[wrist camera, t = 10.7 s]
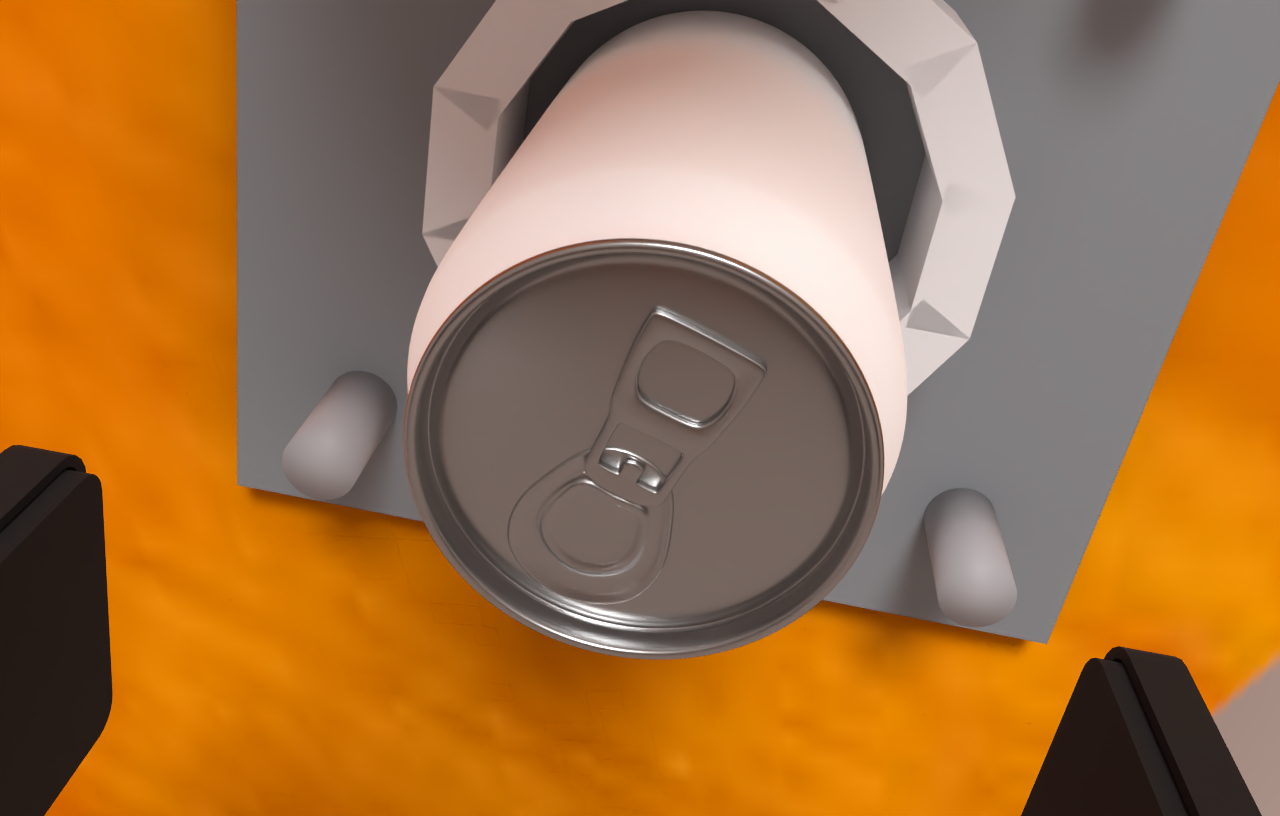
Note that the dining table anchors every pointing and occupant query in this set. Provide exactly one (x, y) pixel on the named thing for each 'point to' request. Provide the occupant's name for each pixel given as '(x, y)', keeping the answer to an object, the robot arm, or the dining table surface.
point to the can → (664, 351)
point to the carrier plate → (908, 211)
